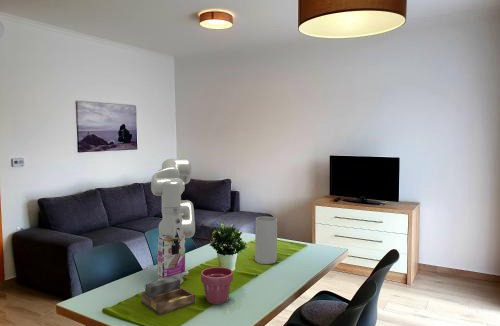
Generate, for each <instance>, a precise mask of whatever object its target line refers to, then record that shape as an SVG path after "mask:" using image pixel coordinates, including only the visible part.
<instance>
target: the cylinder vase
mask: <svg viewBox="0 0 500 326" xmlns="http://www.w3.org/2000/svg"><path fill="white" fill-rule="evenodd" d="M254 238H255V243H254V244H255V245H254V246H255V247H254V258H255V259H254V260H255V262H256V263H257V264H262V265H271V264H275V263H277V259H278V257H277V256H278V255H277V253H278V218H277V217H276V216H275V217H274V216H265V215H264V216H258V217H255V237H254Z"/></svg>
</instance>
